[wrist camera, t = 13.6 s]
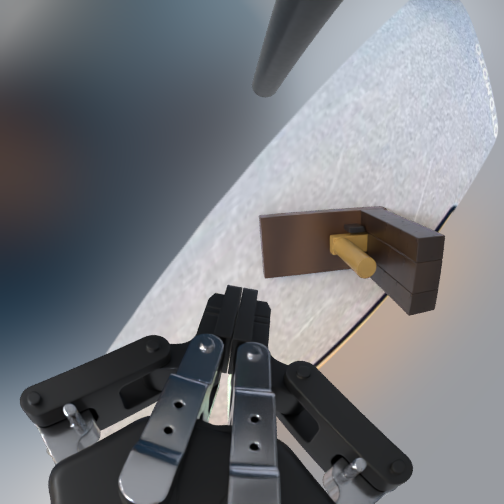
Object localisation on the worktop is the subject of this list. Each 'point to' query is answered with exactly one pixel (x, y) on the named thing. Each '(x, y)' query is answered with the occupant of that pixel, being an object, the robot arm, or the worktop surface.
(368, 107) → the worktop surface
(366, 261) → the bolt
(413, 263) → the latch
